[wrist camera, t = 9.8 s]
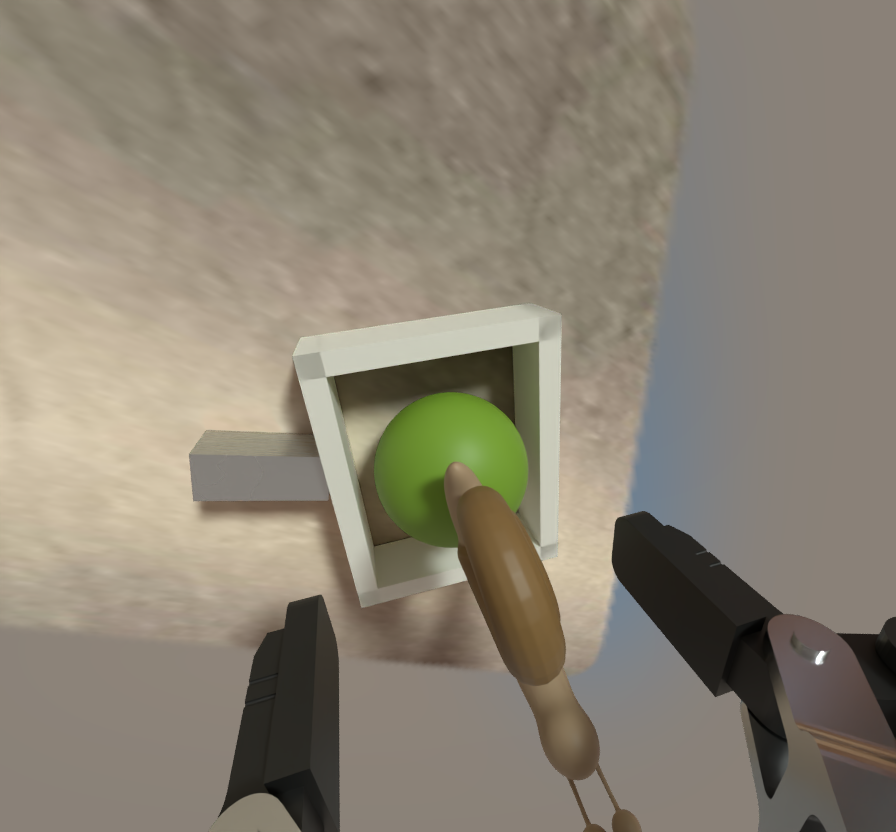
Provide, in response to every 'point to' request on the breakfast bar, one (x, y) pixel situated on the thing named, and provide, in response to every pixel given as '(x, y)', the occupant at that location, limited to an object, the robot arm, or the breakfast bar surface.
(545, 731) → the snail figurine
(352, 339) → the white rectangular frame piece
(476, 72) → the breakfast bar surface
